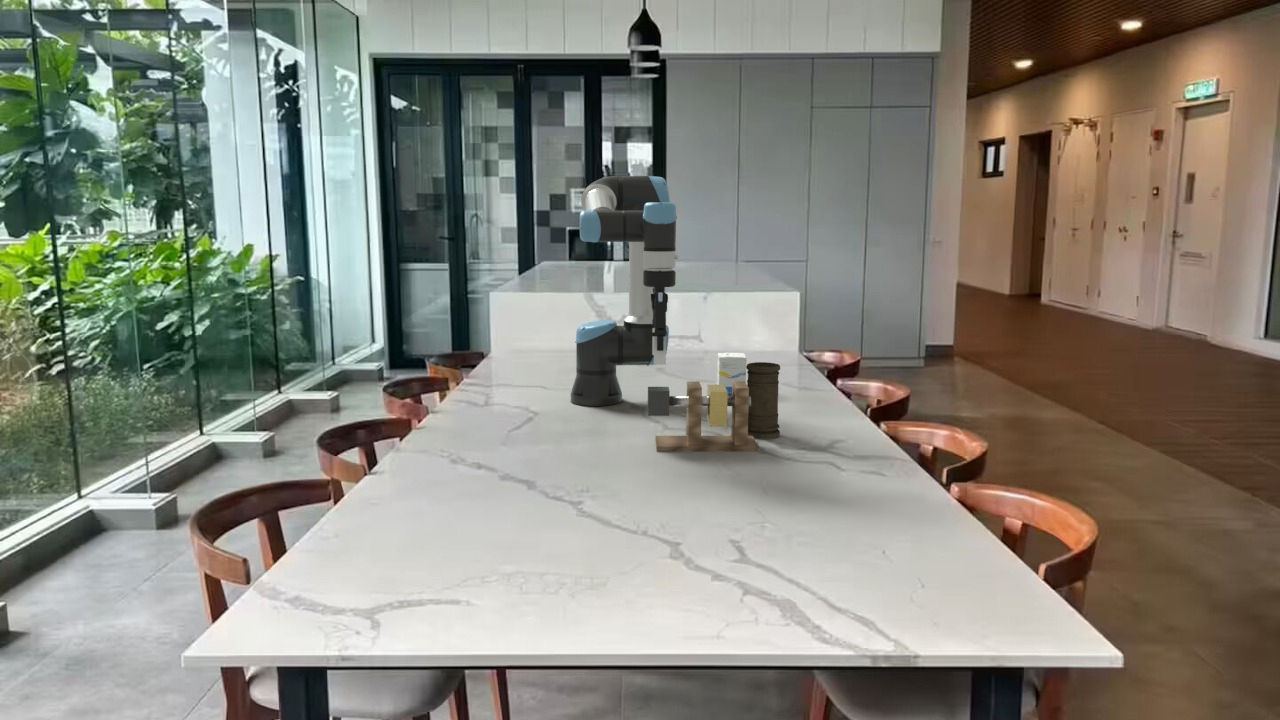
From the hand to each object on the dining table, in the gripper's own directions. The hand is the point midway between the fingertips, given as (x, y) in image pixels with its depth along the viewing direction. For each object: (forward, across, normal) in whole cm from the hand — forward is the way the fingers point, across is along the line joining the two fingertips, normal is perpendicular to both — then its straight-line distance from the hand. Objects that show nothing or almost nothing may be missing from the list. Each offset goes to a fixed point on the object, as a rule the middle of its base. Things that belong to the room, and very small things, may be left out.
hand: (658, 359), depth 218 cm
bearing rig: (+21, 0, -12) cm, 24 cm away
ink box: (+21, +63, -24) cm, 71 cm away
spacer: (+15, 0, -14) cm, 21 cm away
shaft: (+13, 0, -10) cm, 16 cm away
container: (+21, +11, -26) cm, 36 cm away
